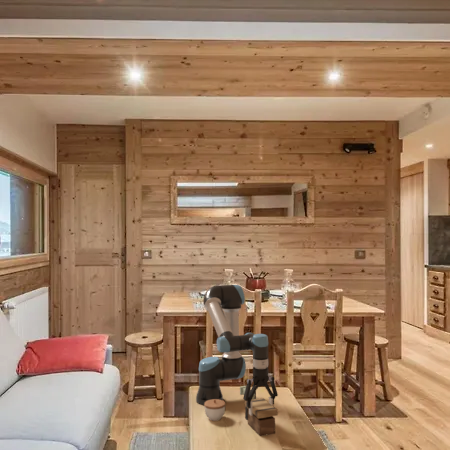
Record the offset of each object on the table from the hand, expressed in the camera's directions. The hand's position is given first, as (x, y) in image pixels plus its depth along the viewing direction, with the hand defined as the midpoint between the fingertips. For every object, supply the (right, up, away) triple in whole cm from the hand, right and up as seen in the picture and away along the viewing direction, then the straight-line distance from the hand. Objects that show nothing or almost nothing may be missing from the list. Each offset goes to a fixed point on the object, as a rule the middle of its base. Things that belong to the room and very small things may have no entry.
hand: (260, 412), depth 212 cm
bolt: (-5, +2, +15) cm, 16 cm away
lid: (0, +1, 0) cm, 1 cm away
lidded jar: (-23, -8, +12) cm, 27 cm away
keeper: (-4, -8, +11) cm, 14 cm away
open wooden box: (0, -7, 0) cm, 7 cm away
